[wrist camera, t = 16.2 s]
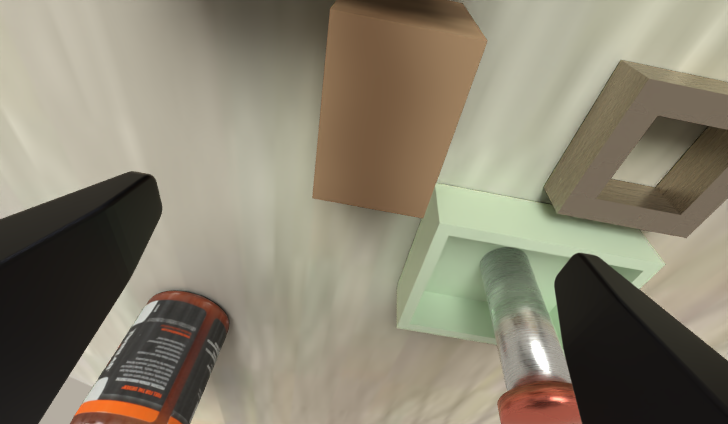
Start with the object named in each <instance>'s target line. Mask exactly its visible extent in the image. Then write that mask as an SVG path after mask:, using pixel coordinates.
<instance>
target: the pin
mask: <svg viewBox="0 0 728 424" xmlns="http://www.w3.org/2000/svg"><path fill="white" fill-rule="evenodd" d="M480 271H481V275H482V280H483V284H484V289H485V293H486V298H487V302H488V307H489V311H490V316H491V320H492V325H493V329H494V334H495V338H496V343H497V347H498V352H499V356H500V361H501V365H502V370H503V374H504V379H505V383H506V388H507V392H506V393H504V394H503V395H502V396H501V397H500V398H499V400H498V403H497V405H498V410H499V416H500V421H501V424H582V422H581V418H580V414H579V410H578V406H577V402H576V398H575V394H574V390H573V387H572V383H571V379H570V375H569V371H568V367H567V363H566V359H565V356H564V354H563V351H562V348H561V346H560V343H559V340H558V337H557V335H556V332H555V329H554V327H553V324H552V321H551V318H550V316H549V313H548V310H547V308H546V305H545V302H544V300H543V297H542V294H541V291H540V289H539V286H538V283H537V281H536V278H535V275H534V273H533V270H532V267H531V264H530V262H529V259H528V257H527V255H526V253H525V252H523V251H522V250H520V249H517V248H513V247H502V248H497V249H494V250H492V251H490V252H488V253H487V254H486V255H484V256H483V258H482V259H481V261H480Z"/></svg>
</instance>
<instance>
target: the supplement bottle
mask: <svg viewBox="0 0 728 424" xmlns="http://www.w3.org/2000/svg"><path fill="white" fill-rule="evenodd" d="M228 329H229V320H228V317H227V315H226V314H225V313H224V311H223V310H222V309H221V308H220V307H219V306H217V305H216V304H215V303H213V302H212V301H210V300H209V299H207V298H205V297H203V296H200V295H196V294H193V293H189V292H184V291H166V292H162V293H159V294H156V295H155V296H153V297H152V298H151V299H150V300H149V301H148V303H147V304H146V306H145V307H144V308H143V309H142V311H141V313H140V314H139V316H138V317H137V319H136V321H135V322H134V324H133V325H132V327H131V328H130V330H129V332H128V333H127V335H126V336H125V338H124V339H123V341H122V342H121V344H120V346H119V347H118V349H117V351H116V352H115V354H114V355H113V357H112V358H111V360H110V361H109V363H108V364H107V366H106V368H105V369H104V370H103V372H102V373H101V375H100V376H99V378H98V380H97V381H96V383H95V384H94V386H93V387H92V389H91V390H90V392H89V394H88V395H87V397H86V398H85V400H84V401H83V403H82V405H81V406H80V408H79V409H78V411H77V412H76V414H75V416H74V417H73V419H72V421H71V423H70V424H190V423H191V421H192V418H193V416H194V413H195V411H196V409H197V406H198V404H199V401H200V399H201V396H202V394H203V392H204V389H205V387H206V384H207V382H208V379H209V377H210V374H211V372H212V369H213V367H214V365H215V362H216V360H217V357H218V355H219V352H220V350H221V347H222V345H223V343H224V340H225V338H226V334H227V332H228Z"/></svg>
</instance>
